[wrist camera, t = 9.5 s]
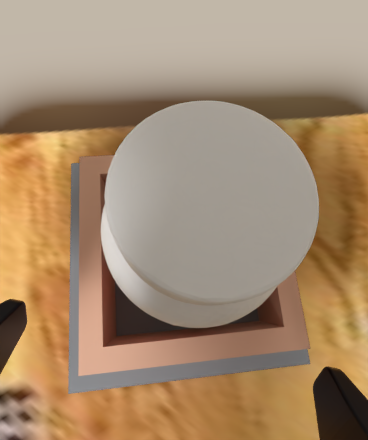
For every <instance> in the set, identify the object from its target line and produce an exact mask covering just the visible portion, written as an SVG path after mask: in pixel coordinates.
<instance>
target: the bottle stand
mask: <svg viewBox="0 0 368 440" xmlns="http://www.w3.org/2000/svg"><path fill="white" fill-rule="evenodd" d="M113 157H114V155H106V156H86V157H80V160H79V163H72V164H71V238H70V314H69V391H68V394H71V393H79V392H87V391H95V390H103V389H111V388H119V387H127V386H135V385H143V384H151V383H159V382H167V381H176V380H184V379H192V378H200V377H208V376H216V375H224V374H232V373H240V372H248V371H256V370H264V369H272V368H280V367H288V366H296V365H304V364H310V360H309V355H308V350H307V349H310V344H309V339H308V334H307V329H306V324H305V319H304V314H303V309H302V304H301V298H300V293H299V288H298V283H297V278H296V273H295V271H294V272H293V273H292V274H291V275H290V276H289V277H288V278H287V279H286V280H284V281H283V282H282V283H280V284H279V285H278V286H277V287H276V289H275V290H274V291H273V293H272V294H271V295H270V296H269V297H268V298H267V299H266V300H265V301H264V302H263V303H262V304H261V305H260V306H259V307H258V308H256V309H255V310H253V311H252V312H250V313H249V314H247V315H245V316H243V317H241V318H239V319H237V320H235V321H233V322H230V323H227V324H224V325H220V326H215V327H209V328H188V327H181V326H173V325H171V324H169V323H166V322H164V321H161V320H159V319H157V318H155V317H153V316H151V315H149V314H147V313H146V312H144V311H143V310H141V309H140V308H139V307H137V306H136V305H135V304H134V303H133V302H132V301H131V300H130V299H129V298H128V297H127V296H126V295H125V294H124V293H123V292H122V290H121V289H120V288H119V286H118V285H117V283H116V281H115V280H114V278H113V276H112V274H111V272H110V270H109V268H108V265H107V262H106V259H105V255H104V252H103V247H102V241H101V220H102V213H103V208H104V205H105V196H104V194H105V185H106V178H107V174H108V169H109V167H110V165H111V162H112V159H113Z"/></svg>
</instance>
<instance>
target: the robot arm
mask: <svg viewBox="0 0 368 440" xmlns="http://www.w3.org/2000/svg"><path fill="white" fill-rule="evenodd" d="M26 324H27V315H26V305H25V303H24V302H23V301H19V300H14V299H9V300H6V301H4V302H3V303H1V304H0V374H1V372H2V370H3V368H4V367H5V365H6V363H7V361H8V359H9V357H10V355H11V354H12V352H13V350H14V348H15V346H16V344H17V343H18V341H19V339H20V337H21V335H22V333H23V331H24V330H25V327H26ZM313 394H314V401H315V408H316V416H317V423H318V430H319V437H320V440H368V400H367V399H366V397H365V396H364V395H363V394H362V393H361V392H360V391H359V389H358V388H357V387H356V386H355V385H354V384H353V383H352V382H351V380H350V379H349V378H348V377H347V376H346V375H345V374H344V373H343V372H342V371H341V370H340V369H337V368H332V367H325V368H324V369H323V370H322V371H321V373H320V374H319V376H318V377H317V379H316V380H315V382H314V385H313Z"/></svg>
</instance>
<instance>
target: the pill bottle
mask: <svg viewBox="0 0 368 440" xmlns="http://www.w3.org/2000/svg"><path fill="white" fill-rule="evenodd" d="M104 196H105V205H104V208H103V213H102V220H101V241H102V247H103V252H104V255H105V259H106V262H107V265H108V268H109V270H110V272H111V274H112V276H113V278H114V280H115V281H116V283H117V285H118V286H119V288H120V289H121V290H122V292H123V293H124V294H125V295H126V296H127V297H128V298H129V299H130V300H131V301H132V302H133V303H134V304H135V305H136V306H137V307H139V308H140V309H141V310H143V311H144V312H146V313H147V314H149V315H151V316H153V317H155V318H157V319H159V320H161V321H164V322H166V323H169V324H171V325H173V326H181V327H188V328H209V327H215V326H220V325H224V324H227V323H230V322H233V321H235V320H237V319H239V318H241V317H243V316H245V315H247V314H249V313H250V312H252V311H253V310H255V309H256V308H258V307H259V306H260V305H261V304H262V303H263V302H264V301H265V300H266V299H267V298H268V297H269V296H270V295H271V294H272V293H273V291H274V290H275V289H276V287H277V286H278V285H279V284H280V283H282V282H283V281H284V280H286V279H287V278H288V277H289V276H290V275H291V274H292V273H293V272H294V271H295V270H296V268H297V267H298V266H299V265H300V263H301V262H302V260H303V259H304V258H305V256H306V254H307V252H308V250H309V248H310V246H311V244H312V242H313V239H314V236H315V233H316V229H317V224H318V219H319V198H318V192H317V185H316V181H315V179H314V175H313V173H312V170H311V168H310V166H309V164H308V162H307V160H306V158H305V156H304V154H303V153H302V151H301V150H300V149H299V147H298V146H297V144H296V143H295V141H294V140H293V139H292V138H291V137H290V136H289V135H288V134H287V133H285V132H284V131H283V130H282V129H281V128H280V127H279V126H278V125H276V124H275V123H274V122H272V121H271V120H269V119H267V118H266V117H264V116H263V115H261V114H259V113H257V112H255V111H253V110H250V109H248V108H245V107H242V106H239V105H236V104H231V103H227V102H222V101H192V102H186V103H181V104H177V105H173V106H170V107H168V108H165V109H163V110H160V111H158V112H156V113H154V114H153V115H151V116H149V117H147V118H146V119H144V120H143V121H142V122H141V123H139V124H138V125H137V126H136V127H135V128H134V129H133V130H132V131H131V132H130V133H129V134H128V135H127V136H126V138H125V139H124V140H123V142H122V143H121V144H120V146H119V147H118V149H117V151H116V153H115V155H114V157H113V159H112V162H111V165H110V167H109V169H108V174H107V178H106V185H105V194H104Z"/></svg>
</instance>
